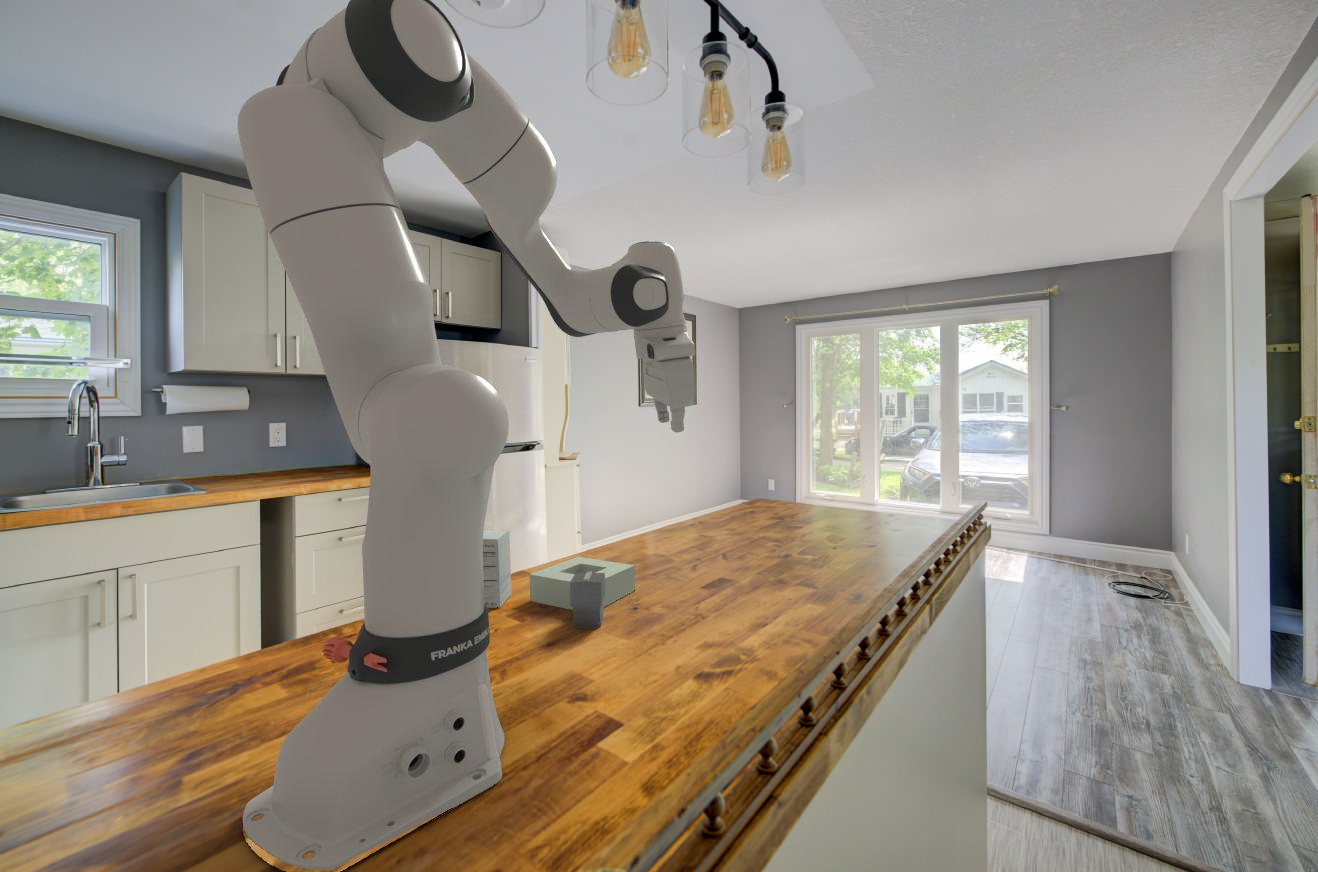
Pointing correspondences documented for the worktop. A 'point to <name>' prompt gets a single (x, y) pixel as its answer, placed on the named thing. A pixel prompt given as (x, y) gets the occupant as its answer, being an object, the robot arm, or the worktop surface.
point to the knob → (587, 599)
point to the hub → (555, 580)
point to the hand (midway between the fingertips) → (670, 426)
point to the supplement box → (496, 567)
